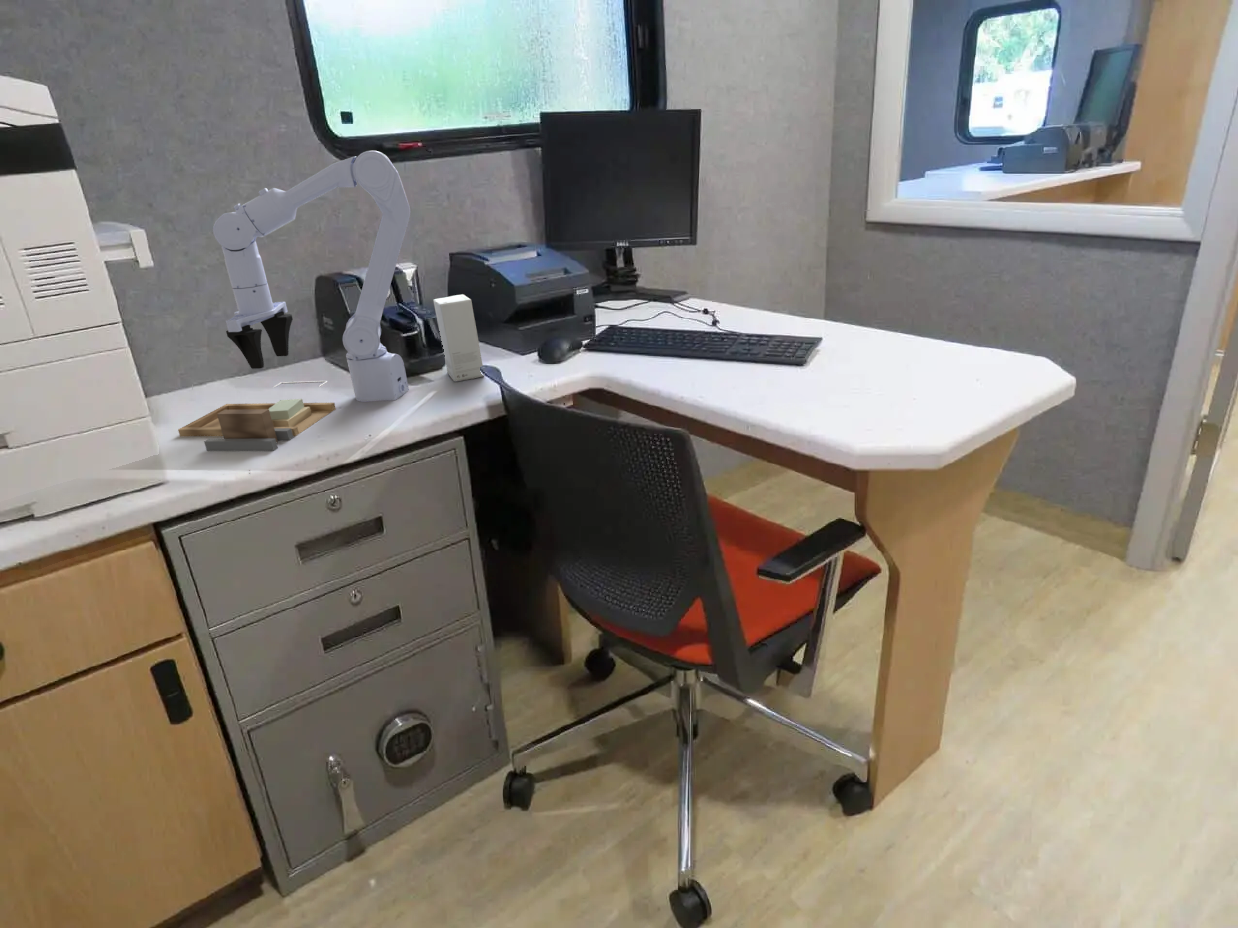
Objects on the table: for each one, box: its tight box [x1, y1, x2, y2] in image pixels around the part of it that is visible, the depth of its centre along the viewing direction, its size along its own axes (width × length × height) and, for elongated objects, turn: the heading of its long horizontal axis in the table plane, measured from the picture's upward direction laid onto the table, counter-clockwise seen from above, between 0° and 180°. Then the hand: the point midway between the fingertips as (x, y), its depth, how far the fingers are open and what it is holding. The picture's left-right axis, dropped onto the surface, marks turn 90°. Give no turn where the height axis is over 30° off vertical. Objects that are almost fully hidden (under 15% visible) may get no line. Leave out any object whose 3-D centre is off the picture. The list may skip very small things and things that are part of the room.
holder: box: [203, 428, 294, 452], centre depth 124 cm, size 12×6×3 cm, turn 80°
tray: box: [177, 402, 337, 437], centre depth 134 cm, size 22×13×2 cm, turn 80°
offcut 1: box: [269, 398, 304, 420], centre depth 132 cm, size 4×6×2 cm, turn 178°
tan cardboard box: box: [217, 409, 279, 444], centre depth 123 cm, size 8×2×6 cm, turn 80°
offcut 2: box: [272, 407, 312, 427], centre depth 132 cm, size 5×7×2 cm
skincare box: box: [432, 293, 484, 382], centre depth 152 cm, size 8×7×16 cm
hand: (270, 361), depth 136 cm, fingers open, 7 cm apart
